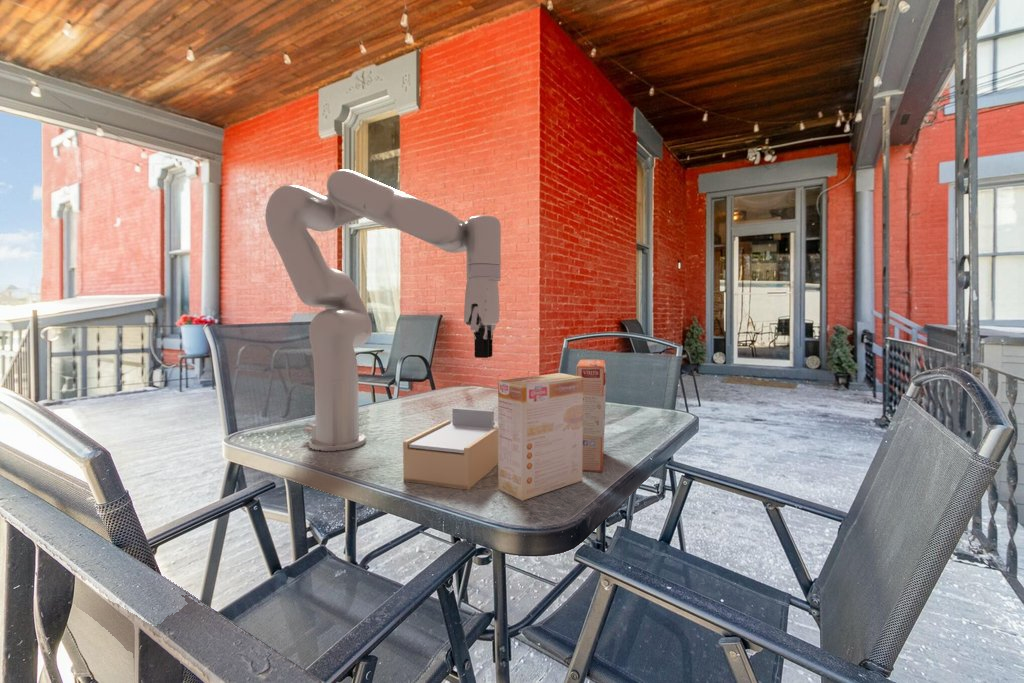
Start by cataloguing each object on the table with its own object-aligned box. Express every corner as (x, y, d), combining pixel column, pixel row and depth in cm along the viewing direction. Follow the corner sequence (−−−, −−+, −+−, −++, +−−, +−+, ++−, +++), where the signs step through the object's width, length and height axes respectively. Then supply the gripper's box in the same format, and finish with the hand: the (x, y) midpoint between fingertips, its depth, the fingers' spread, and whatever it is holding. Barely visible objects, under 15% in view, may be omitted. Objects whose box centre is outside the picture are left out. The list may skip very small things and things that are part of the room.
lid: (409, 447, 86) (409, 425, 85) (451, 425, 102) (451, 407, 102) (463, 453, 82) (463, 430, 82) (497, 429, 99) (497, 410, 98)
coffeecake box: (556, 471, 92) (557, 372, 91) (584, 481, 86) (585, 376, 85) (496, 489, 82) (496, 379, 81) (522, 502, 77) (523, 384, 76)
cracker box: (604, 473, 91) (606, 365, 89) (573, 471, 92) (574, 365, 91) (604, 452, 104) (606, 358, 103) (577, 450, 106) (578, 358, 104)
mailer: (403, 481, 86) (403, 441, 86) (447, 453, 103) (447, 420, 103) (468, 489, 82) (468, 448, 81) (503, 459, 99) (503, 424, 98)
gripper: (481, 276, 112) (481, 353, 113) (452, 271, 97) (452, 359, 98) (511, 276, 109) (510, 354, 111) (486, 270, 95) (486, 361, 96)
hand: (483, 356), depth 104 cm, fingers closed
